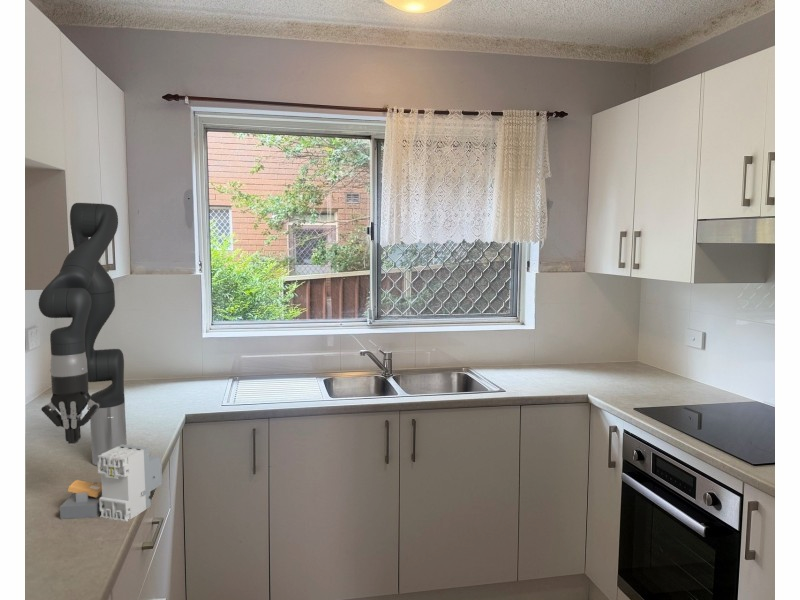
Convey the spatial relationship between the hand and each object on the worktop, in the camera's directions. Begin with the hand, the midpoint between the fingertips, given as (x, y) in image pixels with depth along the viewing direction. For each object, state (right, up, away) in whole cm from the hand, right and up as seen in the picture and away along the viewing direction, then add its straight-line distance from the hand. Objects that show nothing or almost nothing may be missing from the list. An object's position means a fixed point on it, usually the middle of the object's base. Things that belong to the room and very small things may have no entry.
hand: (73, 442), depth 137 cm
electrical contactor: (+13, -17, +4) cm, 22 cm away
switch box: (+2, -17, +2) cm, 17 cm away
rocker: (+2, -13, +2) cm, 13 cm away
